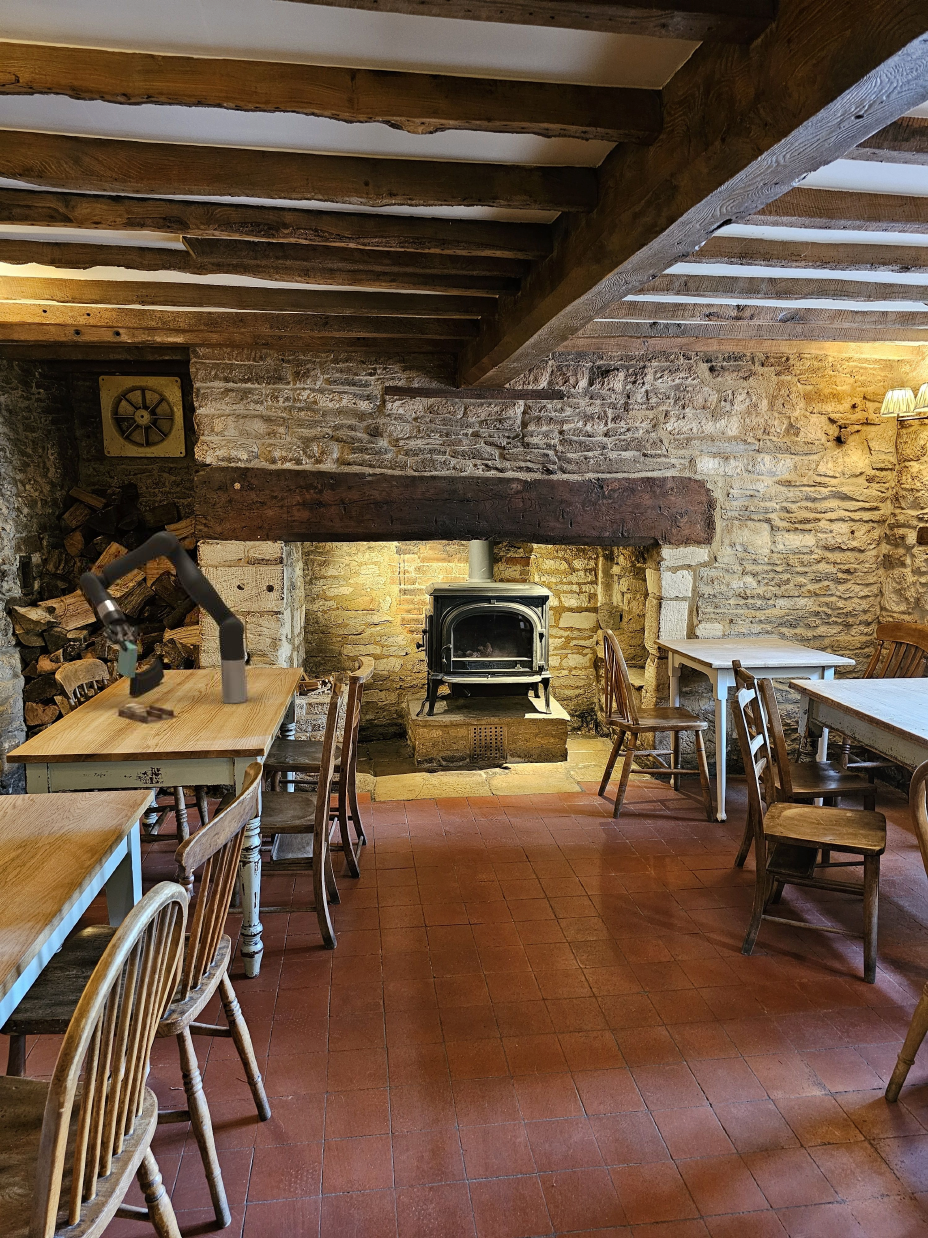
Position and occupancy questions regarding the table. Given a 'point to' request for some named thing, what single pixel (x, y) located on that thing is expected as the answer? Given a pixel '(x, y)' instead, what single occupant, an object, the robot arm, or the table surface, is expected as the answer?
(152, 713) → the walnut rack
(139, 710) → the offcut stack
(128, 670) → the teal board
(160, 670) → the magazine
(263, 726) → the table surface
